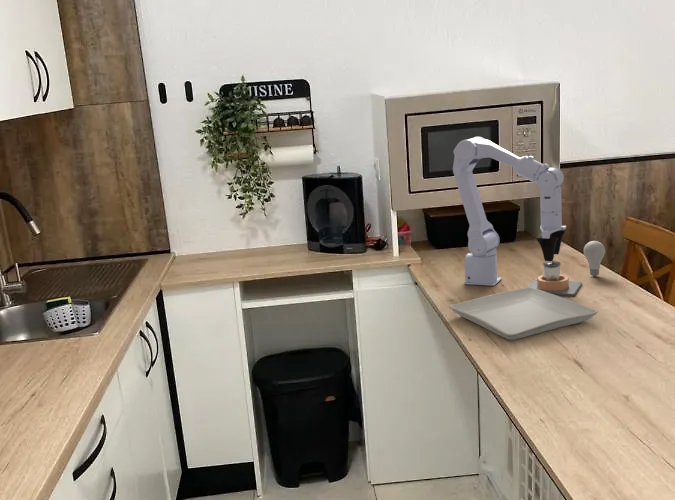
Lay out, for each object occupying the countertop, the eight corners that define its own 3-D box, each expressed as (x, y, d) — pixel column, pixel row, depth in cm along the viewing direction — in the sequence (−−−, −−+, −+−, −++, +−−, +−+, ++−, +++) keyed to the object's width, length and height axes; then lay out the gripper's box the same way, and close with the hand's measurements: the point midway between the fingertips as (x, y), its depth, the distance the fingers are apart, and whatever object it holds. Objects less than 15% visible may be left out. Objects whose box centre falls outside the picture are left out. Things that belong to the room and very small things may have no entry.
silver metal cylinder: (542, 288, 208) (542, 265, 207) (544, 283, 212) (544, 260, 211) (559, 288, 206) (559, 265, 205) (561, 284, 210) (561, 261, 209)
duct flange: (523, 293, 208) (523, 282, 207) (533, 281, 218) (533, 271, 217) (573, 296, 201) (573, 285, 200) (582, 284, 211) (581, 273, 210)
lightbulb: (606, 279, 214) (606, 243, 212) (585, 279, 216) (584, 243, 213) (603, 273, 220) (603, 238, 218) (582, 274, 221) (582, 239, 219)
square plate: (447, 318, 194) (446, 304, 193) (530, 298, 204) (530, 285, 203) (509, 348, 170) (508, 332, 169) (600, 324, 180) (600, 309, 179)
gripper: (559, 216, 196) (560, 264, 200) (570, 206, 209) (571, 251, 212) (533, 215, 200) (535, 263, 203) (546, 206, 212) (546, 250, 215)
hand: (551, 257), depth 208 cm, fingers open, 7 cm apart
